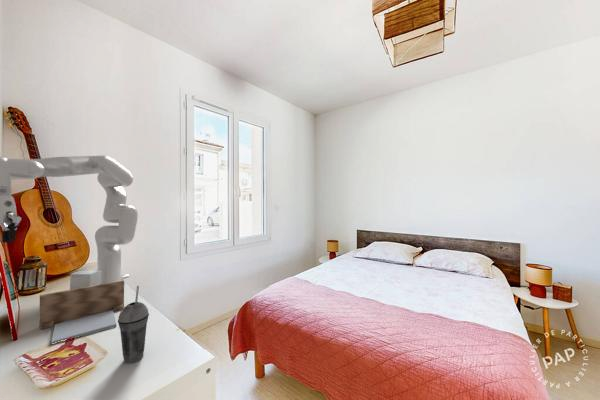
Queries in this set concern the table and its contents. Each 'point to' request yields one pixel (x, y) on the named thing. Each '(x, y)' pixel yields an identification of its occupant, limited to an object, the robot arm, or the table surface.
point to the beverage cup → (133, 330)
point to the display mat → (83, 326)
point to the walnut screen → (80, 303)
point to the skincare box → (84, 278)
